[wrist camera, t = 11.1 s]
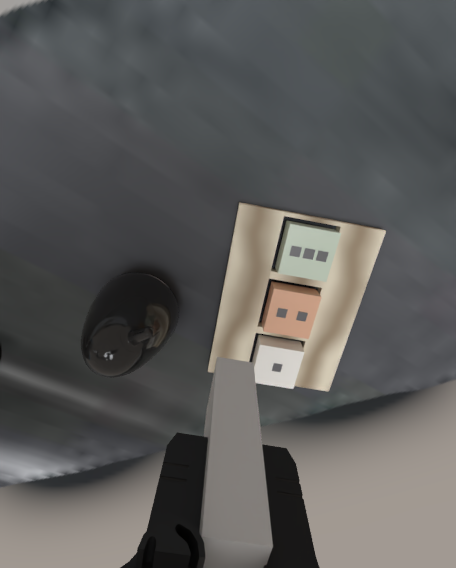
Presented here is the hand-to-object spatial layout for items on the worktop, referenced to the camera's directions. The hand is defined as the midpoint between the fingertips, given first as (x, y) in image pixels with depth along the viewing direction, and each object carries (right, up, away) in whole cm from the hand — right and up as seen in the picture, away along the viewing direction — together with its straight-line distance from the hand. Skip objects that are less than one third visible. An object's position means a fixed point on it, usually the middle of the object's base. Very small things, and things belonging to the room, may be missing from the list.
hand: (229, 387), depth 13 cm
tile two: (+8, +1, +29) cm, 30 cm away
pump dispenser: (-11, +2, +30) cm, 32 cm away
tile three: (+9, +9, +26) cm, 29 cm away
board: (+8, +2, +29) cm, 31 cm away
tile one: (+7, -6, +31) cm, 33 cm away
